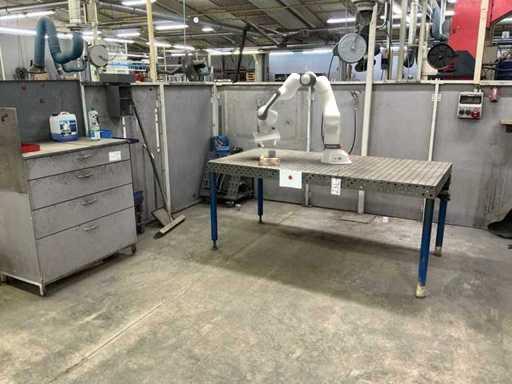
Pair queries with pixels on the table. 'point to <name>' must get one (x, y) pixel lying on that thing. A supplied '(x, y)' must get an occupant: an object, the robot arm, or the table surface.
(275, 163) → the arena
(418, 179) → the table surface
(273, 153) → the bracket
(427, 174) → the table surface
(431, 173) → the table surface
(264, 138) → the robot arm
